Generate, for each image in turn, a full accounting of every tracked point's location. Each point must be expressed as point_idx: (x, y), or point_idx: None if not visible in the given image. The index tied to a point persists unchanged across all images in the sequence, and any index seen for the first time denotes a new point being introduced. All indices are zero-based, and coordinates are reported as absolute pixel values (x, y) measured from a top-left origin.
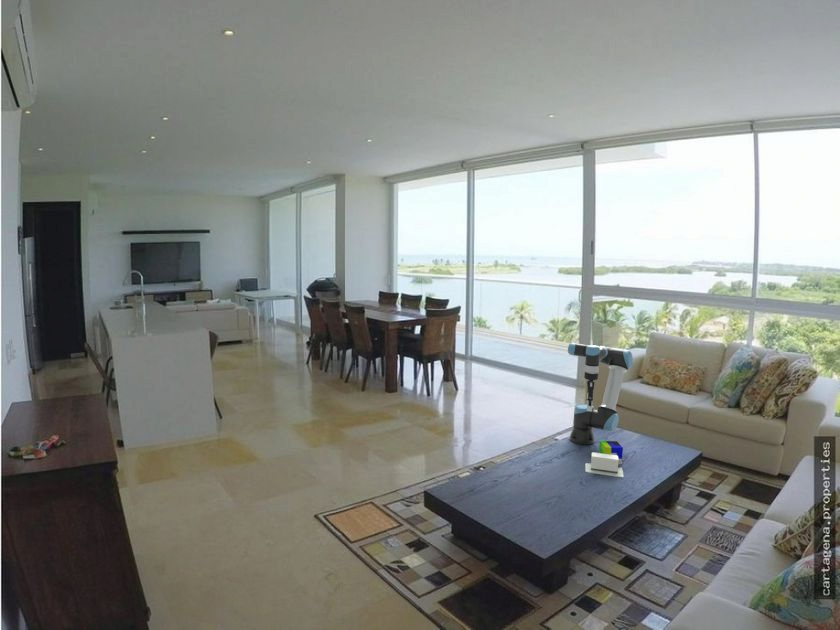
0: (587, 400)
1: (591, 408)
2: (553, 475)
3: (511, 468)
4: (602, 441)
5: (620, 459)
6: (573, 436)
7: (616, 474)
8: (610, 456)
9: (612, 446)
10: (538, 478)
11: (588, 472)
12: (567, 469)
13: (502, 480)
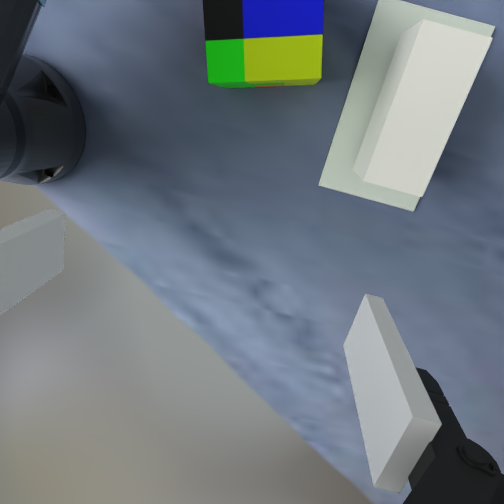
0: (30, 286)
1: (391, 329)
2: (432, 341)
3: (364, 452)
4: (217, 68)
5: None
6: (39, 176)
7: None
8: (433, 79)
9: (302, 18)
10: (453, 394)
11: (418, 198)
12: (379, 277)
13: None
